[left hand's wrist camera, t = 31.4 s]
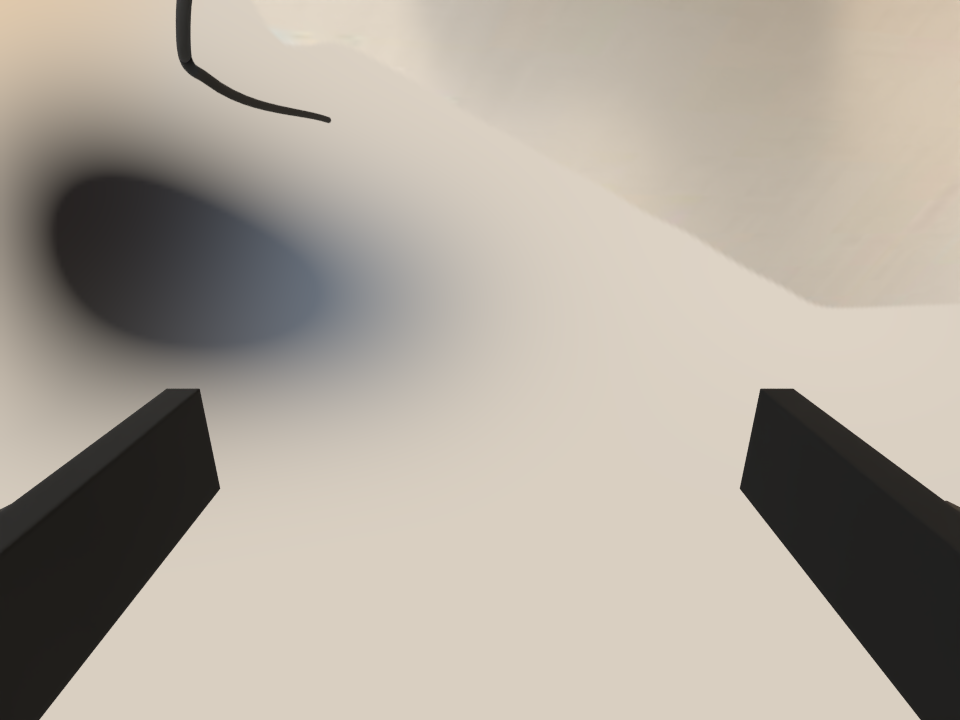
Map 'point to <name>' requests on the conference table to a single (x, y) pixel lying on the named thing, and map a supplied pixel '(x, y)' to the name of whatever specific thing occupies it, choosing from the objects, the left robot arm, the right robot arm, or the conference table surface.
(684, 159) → the conference table surface
